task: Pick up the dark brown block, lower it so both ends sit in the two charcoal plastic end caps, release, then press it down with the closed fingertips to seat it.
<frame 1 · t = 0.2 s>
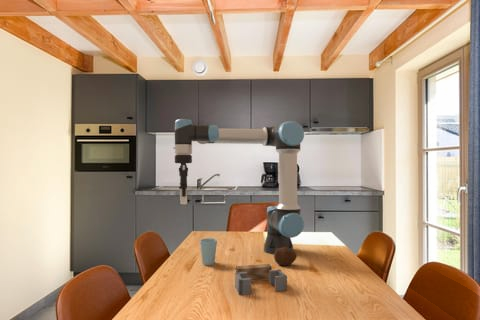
hand: (183, 202, 138), 28 cm above the table, fingers open, 13 cm apart
endcap b: (242, 290, 110), on the table
dark brown block: (253, 279, 121), on the table
endcap a: (278, 287, 113), on the table
cup: (208, 263, 140), on the table
potato: (285, 265, 138), on the table
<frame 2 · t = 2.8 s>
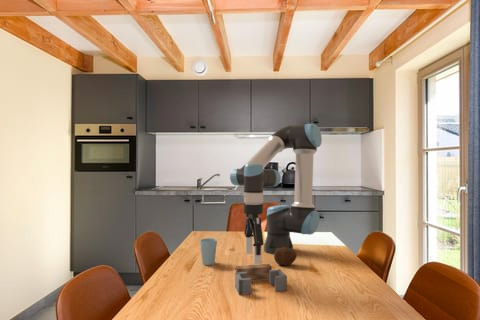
hand: (253, 258, 121), 8 cm above the table, fingers open, 13 cm apart
nothing on the table moved.
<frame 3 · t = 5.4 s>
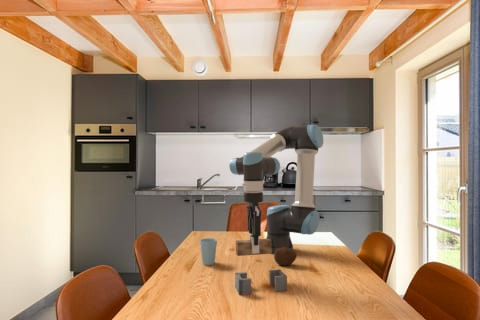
hand: (254, 251, 122), 10 cm above the table, fingers closed on dark brown block, 3 cm apart
dark brown block: (253, 253, 122), point 10 cm above the table, touching gripper
everything else where it was.
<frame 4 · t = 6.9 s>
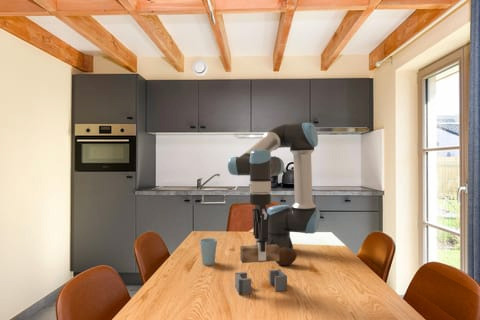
hand: (260, 258, 112), 11 cm above the table, fingers closed on dark brown block, 3 cm apart
dark brown block: (259, 260, 112), point 10 cm above the table, touching gripper
everything else where it was.
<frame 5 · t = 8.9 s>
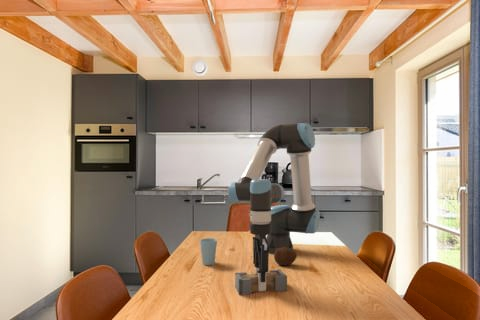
hand: (260, 288, 111), 0 cm above the table, fingers closed on dark brown block, 4 cm apart
dark brown block: (259, 289, 111), on the table, touching gripper
everything else where it was.
when the fingers open (0 cm above the table, at t = 9.0 s): dark brown block stays where it is, on the table.
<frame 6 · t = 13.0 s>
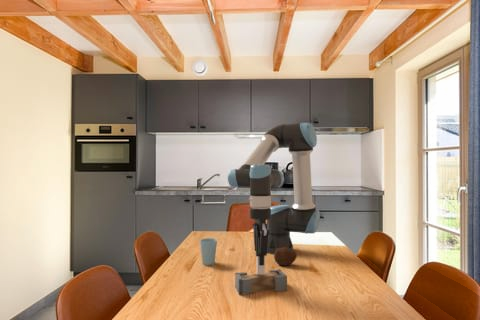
hand: (260, 273, 112), 5 cm above the table, fingers closed
dark brown block: (259, 289, 111), on the table
everything else where it was.
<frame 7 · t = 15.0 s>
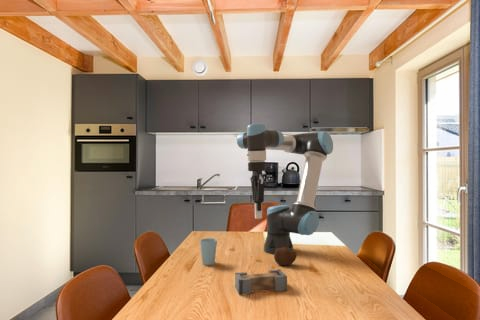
hand: (258, 218, 130), 22 cm above the table, fingers closed
nothing on the table moved.
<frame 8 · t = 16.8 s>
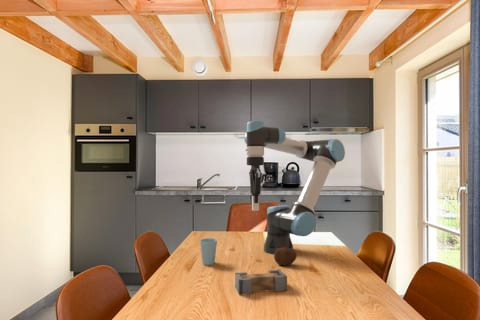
hand: (255, 210, 136), 24 cm above the table, fingers closed
nothing on the table moved.
at the end: dark brown block 0.4 cm from the target spot, on the table; dark brown block tilted 0°; the gripper is holding nothing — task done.
